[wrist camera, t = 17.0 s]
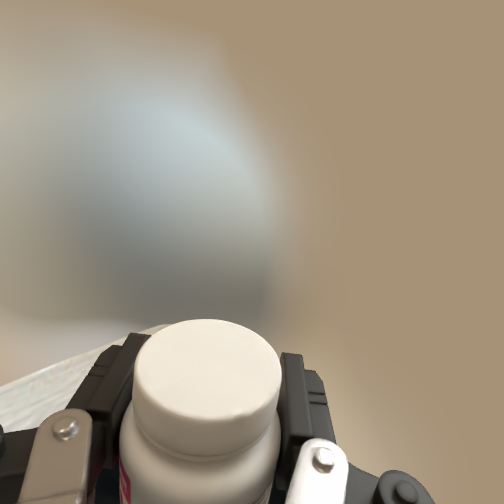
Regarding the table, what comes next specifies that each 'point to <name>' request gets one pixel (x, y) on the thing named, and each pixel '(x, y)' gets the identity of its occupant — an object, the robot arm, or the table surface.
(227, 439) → the pill bottle
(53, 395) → the table surface
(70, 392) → the table surface
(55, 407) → the table surface
